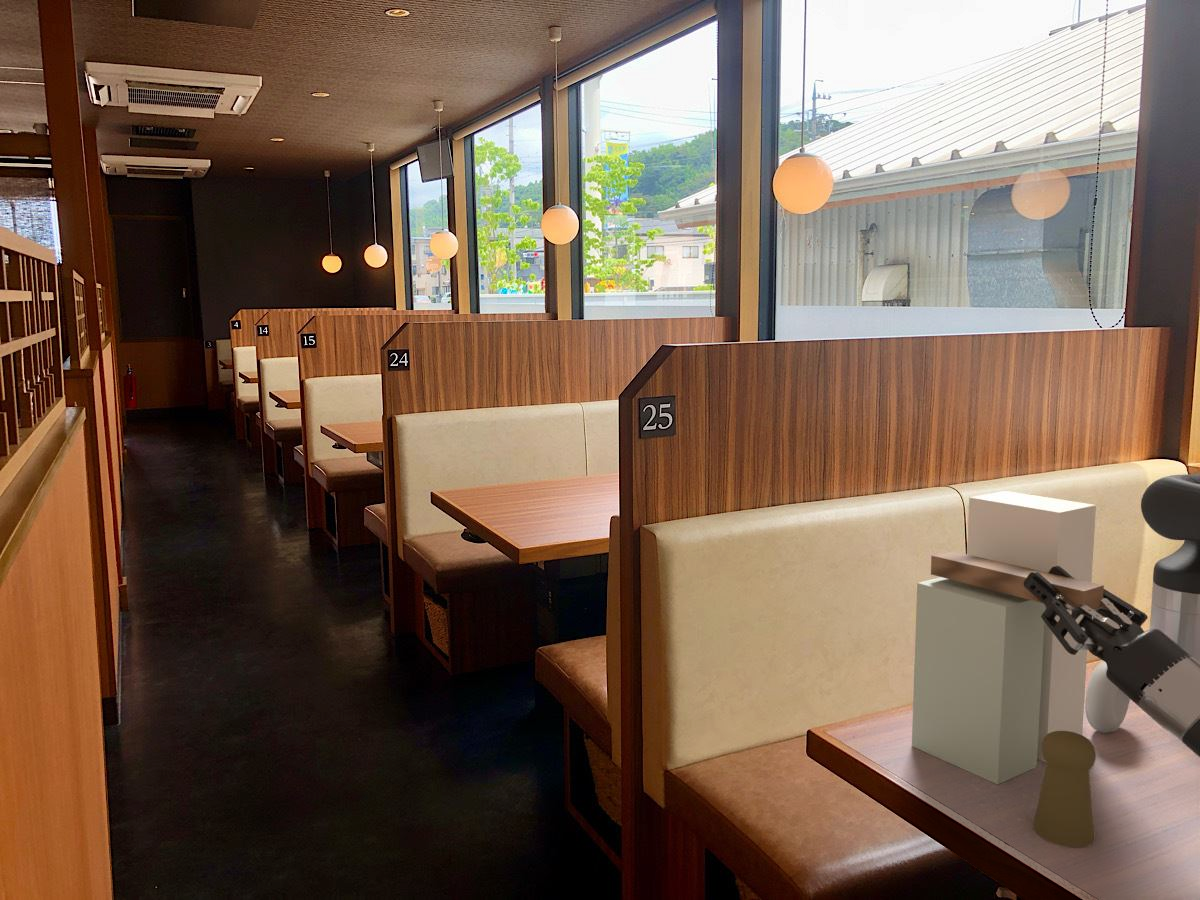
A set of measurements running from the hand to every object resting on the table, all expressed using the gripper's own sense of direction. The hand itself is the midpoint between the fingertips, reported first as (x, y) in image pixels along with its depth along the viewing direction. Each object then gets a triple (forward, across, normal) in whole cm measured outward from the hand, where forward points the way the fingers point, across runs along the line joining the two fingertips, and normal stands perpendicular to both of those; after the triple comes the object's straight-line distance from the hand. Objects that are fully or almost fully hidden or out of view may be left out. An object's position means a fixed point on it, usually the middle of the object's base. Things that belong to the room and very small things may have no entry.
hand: (1040, 574), depth 109 cm
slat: (+2, 0, +4) cm, 4 cm away
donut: (-11, -21, +24) cm, 33 cm away
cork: (-20, +7, +18) cm, 28 cm away
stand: (-6, -5, +26) cm, 27 cm away
